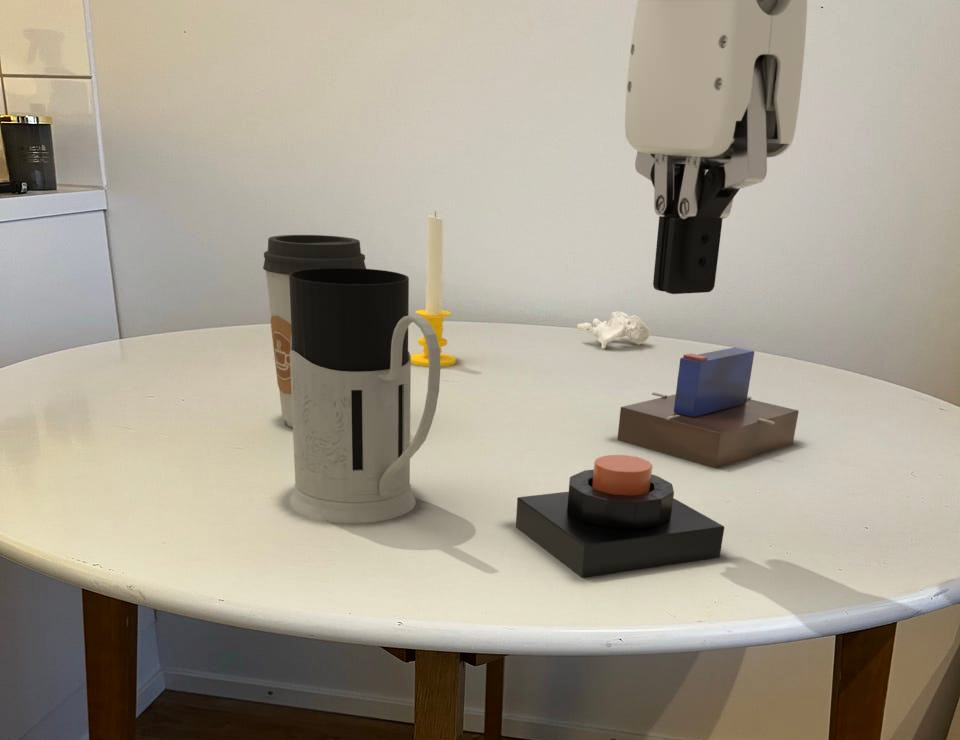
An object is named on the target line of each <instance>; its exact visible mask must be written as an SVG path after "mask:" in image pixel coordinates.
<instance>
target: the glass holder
mask: <svg viewBox="0 0 960 740" xmlns="http://www.w3.org/2000/svg"><path fill="white" fill-rule="evenodd" d="M289 284H290V307H291V331H292V333H291V337H290V372H291V395H292V418H293V428H292V437H293V438H292V440H293V461H294V482H295V483H294V485H293V486H294V487H293V488H294V489H293V491H292V493H291V496H290V498H289V505H290V507H291V508H292V510H294V511H295V512H296V513H298V514H300V515H302V516H305V517H307V518H311V519H313V520H317V521H318V520H319V521H324V522H331V523H341V524H364V523H365V524H366V523H367V524H368V523H377V522H382V521H388V520H391V519H395V518H398V517H401V516H404V515H405V514H407V513H409V512H411V511H412V510H413V509H414V508H415V506H416V505H417V504H416V502H417V501H416V498H415V495H414V493H413V491H412V486H411V482H410V481H411V479H410V478H411V476H410V475H411V459H412V458H413V456H414V455H415V454H416V453H417V452H418V451H419V450H420V448H421V447H422V445H424V443H425V442H426V440H427V438H428V434H429V433H430V430H431V427H432V424H433V422H434V417H435V414H436V410H437V405H438V400H439V393H440V385H441V382H440V381H441V368H442V367H441V366H440V348H439V344H438V340H437V336H436V333H435V331H434V330H433V328H432V326H431V324H430V323H429V322H428V321H427V320H426V319H425V318H423V317H422V316H420V315H419V314H409V313H410V311H409V308H410V307H409V304H410V303H409V301H410V295H409V293H410V278H409V276H408V275H406V274H403V273H400V272H396V271H391V270H382V269H375V268H366V269H362V268H316V269H305V270H299V271H295V272H292V273H290V274H289ZM412 323H414V324H415V325H416V326H417V327H418V328H419V329H420V331H421V333H422V335H423V337H424V336H425V339H426V343H427V347H428V358H429V366H428V375H427V377H428V378H427V391H426V395H425V396H426V397H425V403H424V409H423V411H422V415H421V418H420V422H419V424H418V428H417V429H416V433H415V435H414V436H413V439H412V440H411V390H412V389H411V383H412V381H411V380H412V377H411V375H412V373H411V372H412V363H411V352H410V351H409V326H410V325H411V324H412Z"/></svg>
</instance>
